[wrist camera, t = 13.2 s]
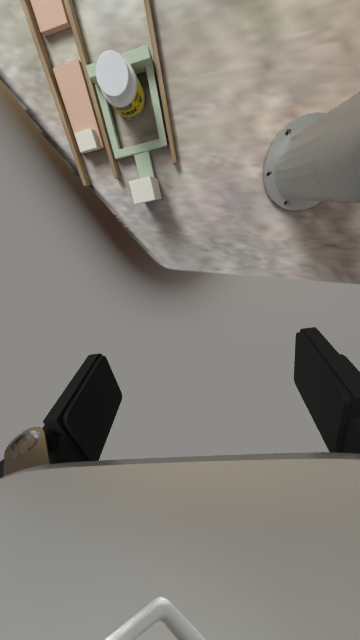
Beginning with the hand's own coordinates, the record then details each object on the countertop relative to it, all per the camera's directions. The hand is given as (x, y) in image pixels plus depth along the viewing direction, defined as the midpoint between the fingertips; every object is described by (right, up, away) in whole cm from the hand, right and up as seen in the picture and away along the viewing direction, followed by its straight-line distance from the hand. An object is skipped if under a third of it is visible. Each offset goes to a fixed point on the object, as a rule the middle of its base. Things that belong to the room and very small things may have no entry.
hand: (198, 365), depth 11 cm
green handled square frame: (-7, +31, +25) cm, 40 cm away
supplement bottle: (-8, +35, +23) cm, 43 cm away
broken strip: (-17, +39, +21) cm, 48 cm away
